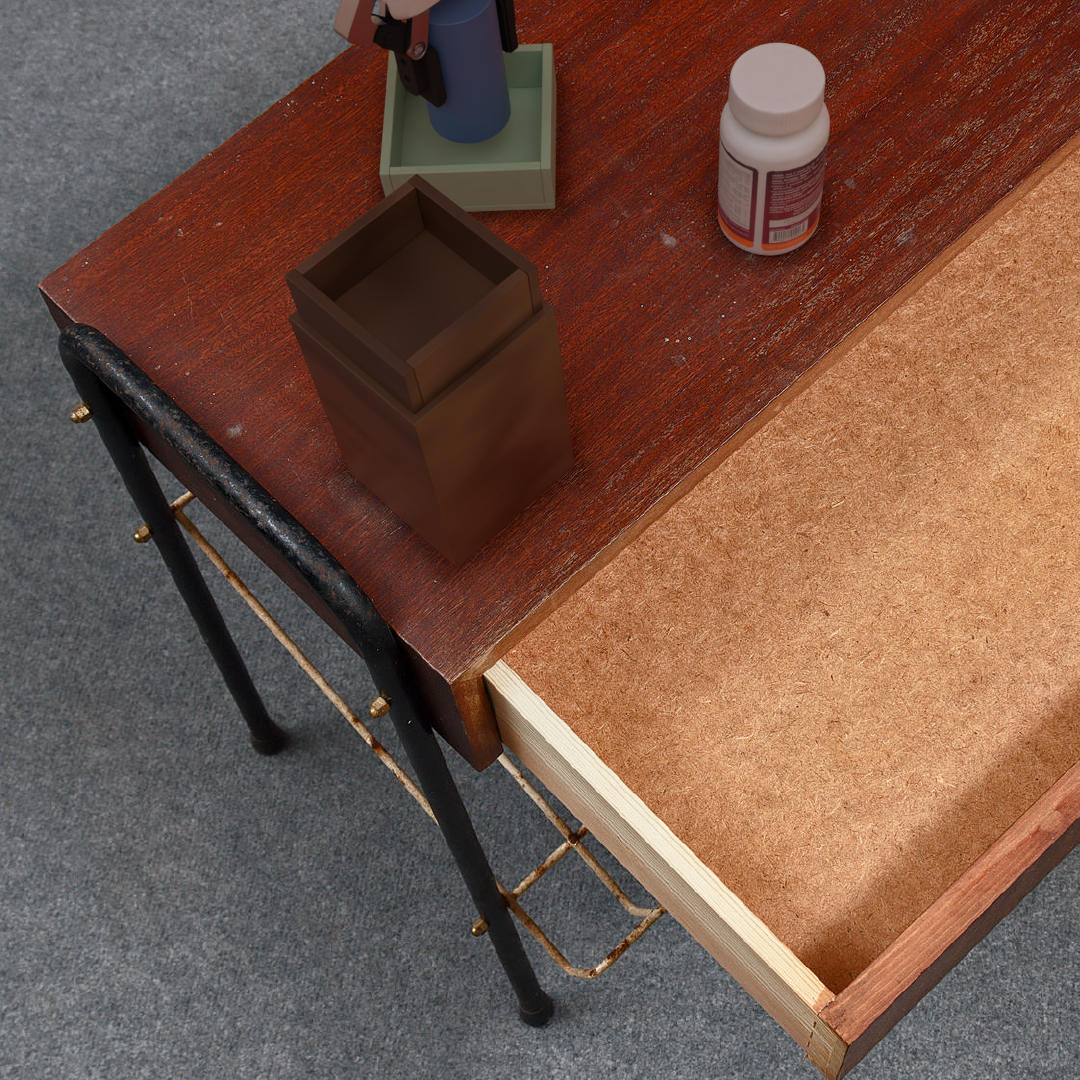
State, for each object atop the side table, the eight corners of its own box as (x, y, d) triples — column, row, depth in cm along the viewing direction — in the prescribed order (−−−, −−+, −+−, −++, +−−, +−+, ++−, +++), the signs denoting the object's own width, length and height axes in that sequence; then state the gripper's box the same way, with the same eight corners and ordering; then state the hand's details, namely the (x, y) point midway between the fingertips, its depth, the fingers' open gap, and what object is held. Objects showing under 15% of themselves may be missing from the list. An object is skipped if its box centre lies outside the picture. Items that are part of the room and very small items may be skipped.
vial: (427, 145, 88) (401, 26, 80) (431, 84, 90) (406, -39, 82) (510, 142, 88) (492, 22, 79) (512, 80, 90) (494, -42, 82)
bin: (389, 214, 89) (379, 174, 86) (398, 91, 94) (389, 49, 91) (555, 209, 89) (550, 168, 86) (556, 85, 94) (552, 42, 90)
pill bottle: (830, 193, 89) (849, 47, 79) (802, 270, 86) (819, 129, 76) (733, 171, 90) (740, 24, 80) (703, 246, 87) (706, 104, 77)
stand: (457, 569, 78) (402, 387, 63) (348, 471, 81) (271, 275, 66) (575, 465, 81) (550, 266, 66) (465, 374, 84) (417, 163, 69)
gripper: (484, -345, 73) (521, -40, 89) (220, -174, 68) (310, 115, 84) (590, -283, 70) (608, 19, 87) (324, -101, 65) (396, 182, 82)
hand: (461, 64), depth 85 cm, fingers closed on vial, 5 cm apart
